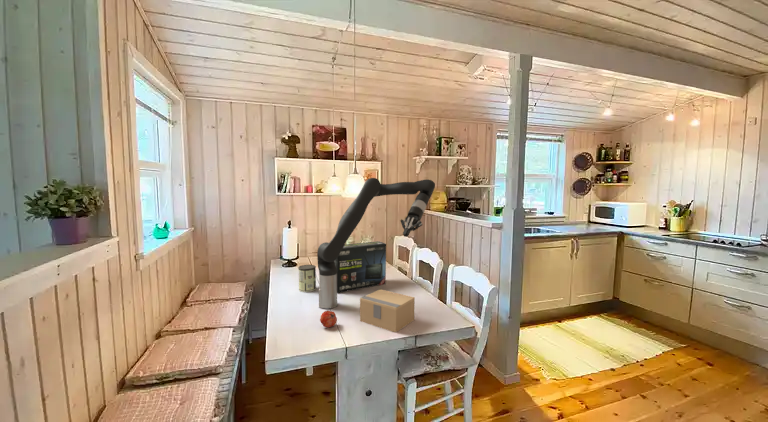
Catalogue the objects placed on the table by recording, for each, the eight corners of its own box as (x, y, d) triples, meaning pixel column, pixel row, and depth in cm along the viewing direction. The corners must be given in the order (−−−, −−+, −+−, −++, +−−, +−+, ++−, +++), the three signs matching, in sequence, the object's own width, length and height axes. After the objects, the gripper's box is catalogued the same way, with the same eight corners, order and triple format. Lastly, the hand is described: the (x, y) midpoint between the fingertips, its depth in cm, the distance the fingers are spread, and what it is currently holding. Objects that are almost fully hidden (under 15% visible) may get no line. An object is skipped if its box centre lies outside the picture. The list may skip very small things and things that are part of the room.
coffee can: (307, 285, 205) (307, 263, 204) (319, 288, 200) (319, 266, 199) (295, 290, 197) (294, 267, 196) (307, 293, 191) (306, 269, 190)
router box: (336, 294, 190) (336, 248, 188) (328, 289, 200) (328, 245, 197) (387, 283, 210) (387, 242, 208) (378, 279, 219) (378, 240, 217)
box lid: (380, 291, 165) (380, 289, 165) (414, 299, 154) (414, 297, 154) (360, 300, 152) (360, 297, 152) (396, 310, 141) (396, 307, 140)
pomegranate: (317, 331, 147) (325, 324, 140) (315, 315, 151) (323, 308, 144) (333, 329, 151) (341, 322, 144) (330, 314, 154) (338, 306, 148)
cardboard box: (380, 310, 166) (380, 291, 165) (414, 320, 154) (414, 299, 154) (359, 321, 153) (359, 300, 152) (395, 332, 141) (395, 310, 140)
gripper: (404, 205, 177) (391, 230, 168) (425, 206, 169) (413, 232, 160) (409, 214, 181) (396, 238, 172) (430, 215, 174) (418, 241, 165)
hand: (404, 235), depth 166 cm, fingers closed
